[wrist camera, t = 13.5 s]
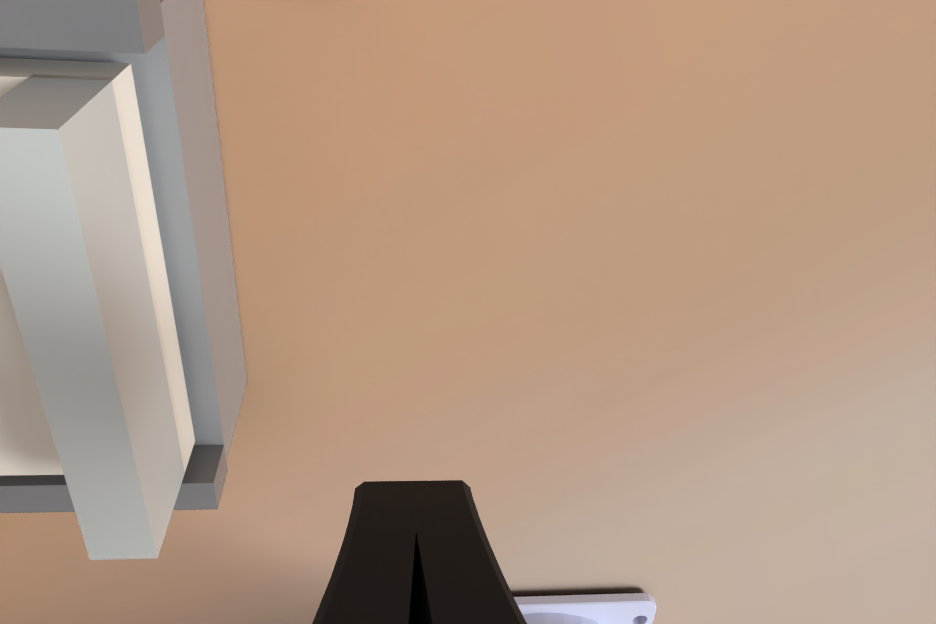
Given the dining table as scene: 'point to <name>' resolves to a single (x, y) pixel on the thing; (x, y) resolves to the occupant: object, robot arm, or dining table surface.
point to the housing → (159, 208)
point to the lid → (87, 305)
